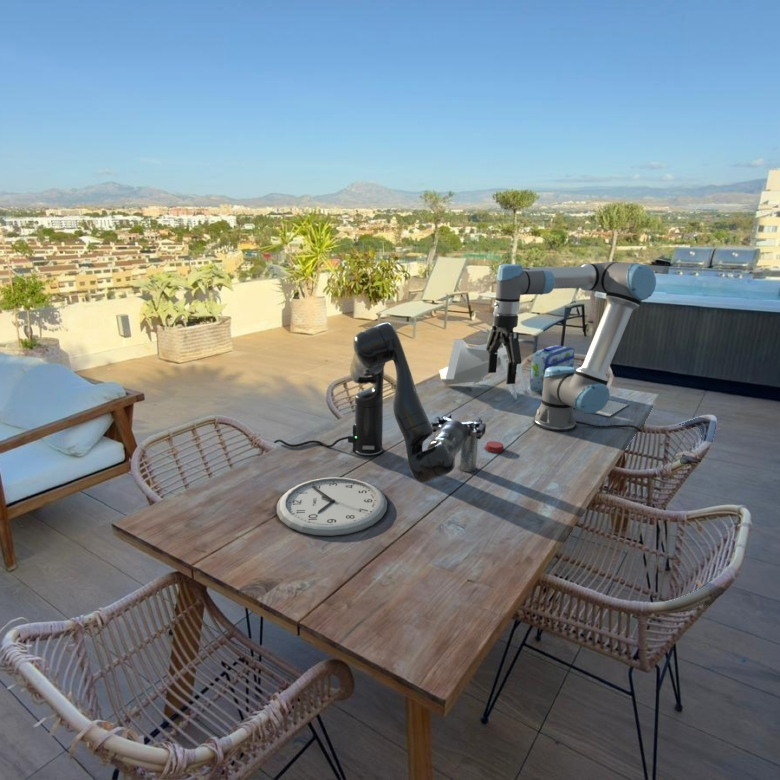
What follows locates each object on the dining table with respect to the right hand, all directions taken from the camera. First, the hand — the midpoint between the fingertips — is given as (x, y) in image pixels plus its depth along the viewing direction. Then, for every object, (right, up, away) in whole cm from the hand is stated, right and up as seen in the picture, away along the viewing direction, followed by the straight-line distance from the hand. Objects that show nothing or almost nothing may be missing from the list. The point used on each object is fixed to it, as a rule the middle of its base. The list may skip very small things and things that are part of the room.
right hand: (501, 378), depth 173 cm
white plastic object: (+5, -5, +70) cm, 70 cm away
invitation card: (+55, -11, +53) cm, 77 cm away
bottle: (-12, -29, -7) cm, 32 cm away
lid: (-1, -23, +7) cm, 24 cm away
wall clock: (-53, -36, -30) cm, 70 cm away
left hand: (-15, -12, -22) cm, 30 cm away
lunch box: (+39, -4, +75) cm, 85 cm away
